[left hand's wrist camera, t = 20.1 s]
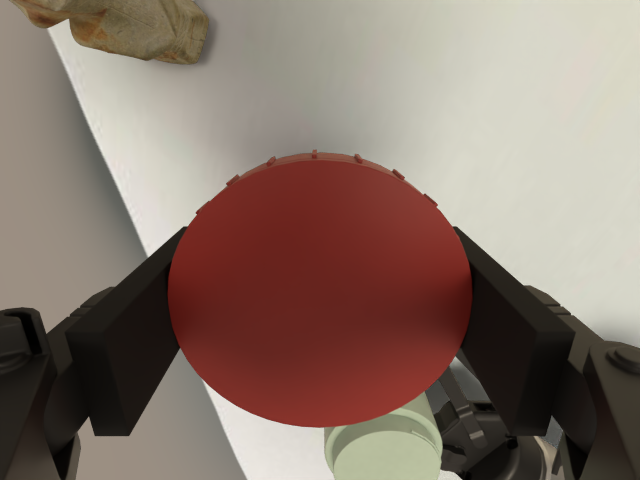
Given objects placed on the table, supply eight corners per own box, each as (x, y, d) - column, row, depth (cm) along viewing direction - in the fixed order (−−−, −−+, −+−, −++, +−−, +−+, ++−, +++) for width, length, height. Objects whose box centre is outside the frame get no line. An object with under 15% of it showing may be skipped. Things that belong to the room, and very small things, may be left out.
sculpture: (134, -40, 26) (-84, -206, 12) (227, 11, 27) (127, -86, 13) (113, 42, 28) (-96, -20, 14) (201, 86, 29) (89, 71, 15)
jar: (372, 372, 39) (402, 526, 25) (309, 342, 38) (302, 485, 24) (415, 319, 37) (475, 455, 23) (349, 284, 36) (368, 405, 21)
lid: (383, 88, 9) (394, 85, 8) (494, 330, 12) (518, 362, 11) (127, 238, 11) (97, 259, 9) (277, 425, 14) (271, 464, 12)
